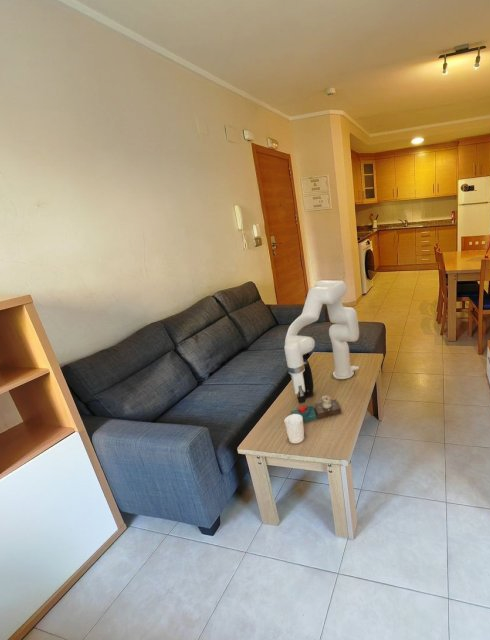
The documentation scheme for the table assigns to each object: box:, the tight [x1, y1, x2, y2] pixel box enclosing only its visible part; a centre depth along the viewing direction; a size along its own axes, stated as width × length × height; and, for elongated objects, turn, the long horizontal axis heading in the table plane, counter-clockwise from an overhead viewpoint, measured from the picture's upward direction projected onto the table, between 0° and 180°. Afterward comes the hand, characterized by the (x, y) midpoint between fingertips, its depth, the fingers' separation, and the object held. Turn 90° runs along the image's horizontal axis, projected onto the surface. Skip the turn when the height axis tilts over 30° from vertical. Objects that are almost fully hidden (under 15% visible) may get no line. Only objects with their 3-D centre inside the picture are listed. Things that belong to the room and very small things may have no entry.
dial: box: [321, 395, 332, 408], centre depth 165 cm, size 4×4×5 cm
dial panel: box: [313, 398, 342, 420], centre depth 167 cm, size 11×9×3 cm
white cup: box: [284, 414, 305, 444], centre depth 148 cm, size 8×8×10 cm
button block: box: [290, 405, 317, 424], centre depth 164 cm, size 11×9×4 cm
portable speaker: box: [303, 358, 314, 399], centre depth 181 cm, size 9×9×20 cm
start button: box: [298, 405, 306, 413], centre depth 163 cm, size 4×4×2 cm
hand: (302, 402), depth 162 cm, fingers closed
